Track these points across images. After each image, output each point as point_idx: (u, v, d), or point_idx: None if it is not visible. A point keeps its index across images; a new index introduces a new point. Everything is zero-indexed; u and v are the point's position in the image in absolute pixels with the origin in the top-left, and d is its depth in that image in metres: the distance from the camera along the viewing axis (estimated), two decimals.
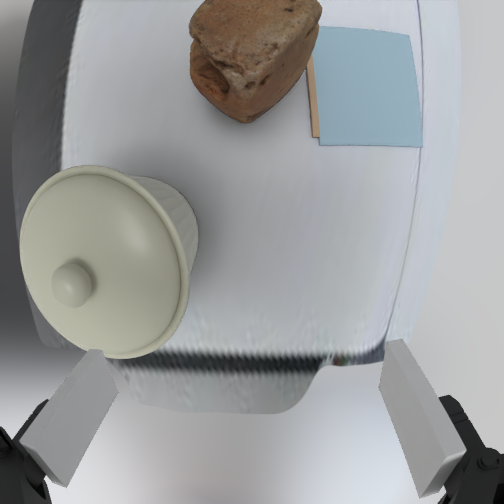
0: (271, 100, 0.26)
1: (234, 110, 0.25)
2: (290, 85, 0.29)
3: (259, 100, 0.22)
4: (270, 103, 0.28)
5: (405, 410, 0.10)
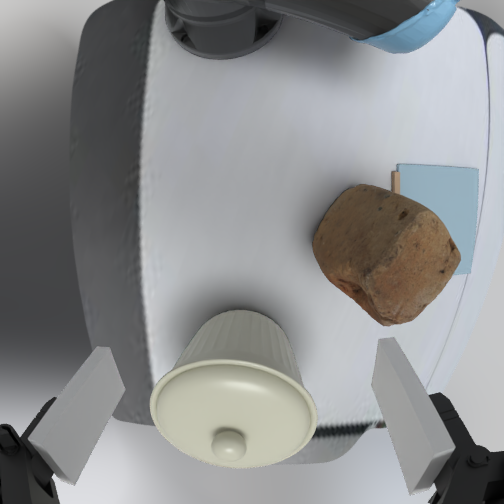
0: None
1: None
2: None
3: None
4: None
5: (396, 407, 0.10)
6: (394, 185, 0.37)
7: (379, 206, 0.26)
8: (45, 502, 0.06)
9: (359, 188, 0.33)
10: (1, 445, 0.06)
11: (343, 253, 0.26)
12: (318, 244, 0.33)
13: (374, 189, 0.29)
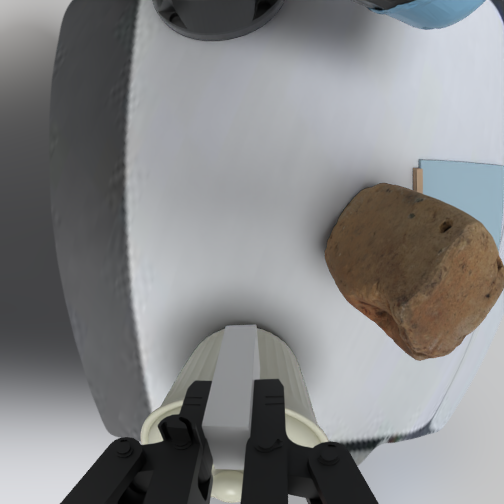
0: None
1: None
2: None
3: None
4: None
5: None
6: (416, 184, 0.31)
7: (410, 212, 0.20)
8: None
9: (380, 188, 0.28)
10: (169, 435, 0.08)
11: (367, 271, 0.21)
12: (333, 255, 0.28)
13: (400, 190, 0.24)
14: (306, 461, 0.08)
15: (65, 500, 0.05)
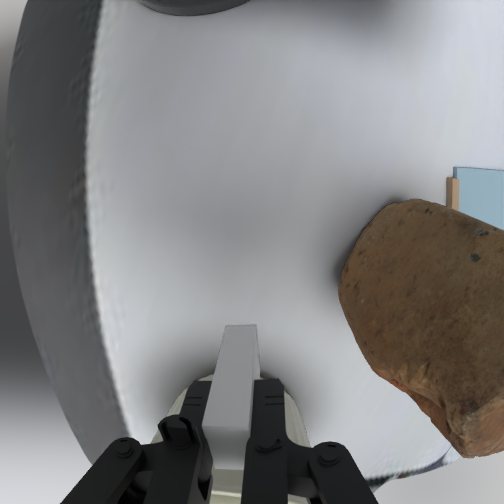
0: None
1: None
2: None
3: None
4: None
5: None
6: (450, 198, 0.24)
7: (471, 251, 0.12)
8: None
9: (414, 206, 0.20)
10: (169, 435, 0.08)
11: (408, 340, 0.13)
12: (351, 298, 0.20)
13: (447, 213, 0.16)
14: (306, 461, 0.08)
15: (65, 500, 0.05)
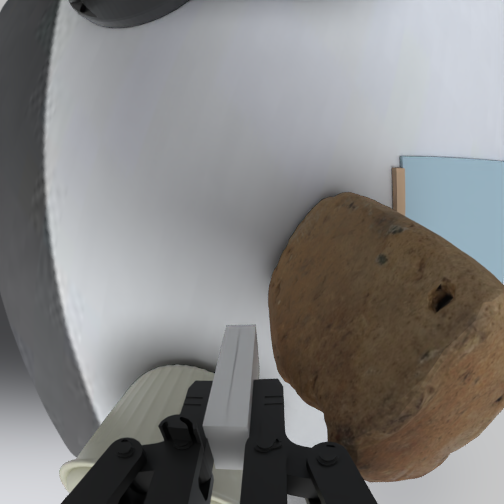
0: None
1: None
2: None
3: None
4: None
5: None
6: (395, 189, 0.24)
7: (380, 251, 0.13)
8: None
9: (342, 200, 0.20)
10: (170, 435, 0.08)
11: (304, 349, 0.13)
12: (273, 299, 0.20)
13: (368, 207, 0.16)
14: (305, 461, 0.08)
15: (66, 500, 0.05)
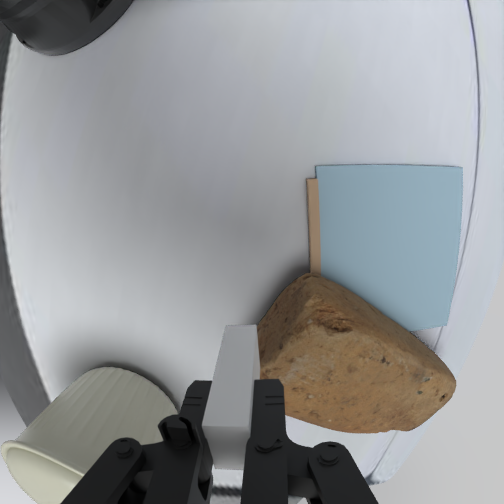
0: None
1: None
2: None
3: None
4: None
5: None
6: (308, 202, 0.25)
7: (417, 389, 0.22)
8: None
9: (365, 352, 0.20)
10: (169, 435, 0.08)
11: (380, 426, 0.24)
12: (311, 418, 0.23)
13: (403, 364, 0.20)
14: (306, 461, 0.08)
15: (65, 500, 0.05)
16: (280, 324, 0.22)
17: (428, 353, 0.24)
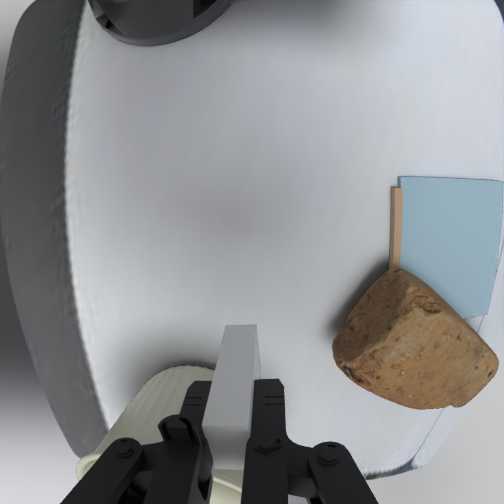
0: None
1: None
2: None
3: None
4: None
5: None
6: (393, 207, 0.27)
7: (475, 364, 0.24)
8: None
9: (448, 330, 0.22)
10: (169, 435, 0.08)
11: (443, 401, 0.26)
12: (396, 395, 0.25)
13: (470, 341, 0.23)
14: (306, 461, 0.08)
15: (65, 500, 0.05)
16: (382, 310, 0.24)
17: None
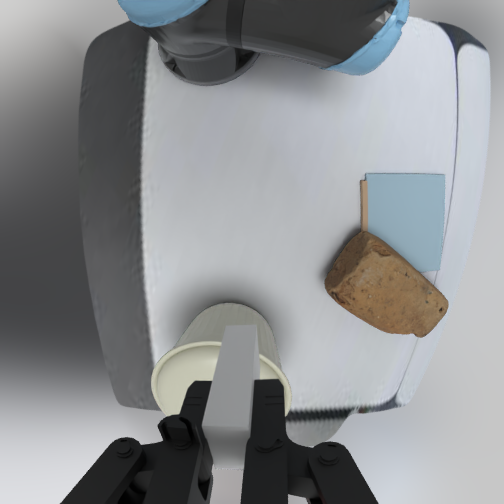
0: None
1: None
2: None
3: None
4: None
5: None
6: (362, 193, 0.43)
7: (425, 299, 0.41)
8: None
9: (397, 268, 0.38)
10: (169, 435, 0.08)
11: (405, 327, 0.43)
12: (368, 315, 0.41)
13: (416, 279, 0.39)
14: (306, 461, 0.08)
15: (65, 500, 0.05)
16: (353, 255, 0.41)
17: None
